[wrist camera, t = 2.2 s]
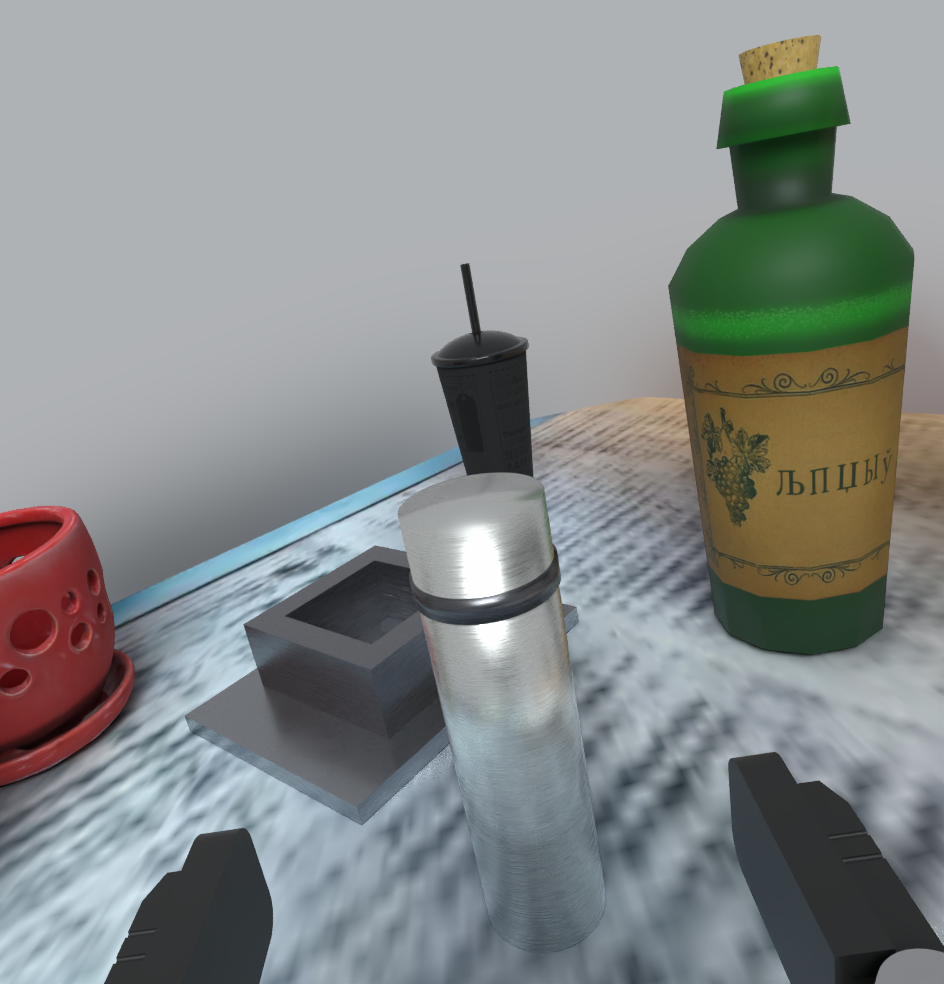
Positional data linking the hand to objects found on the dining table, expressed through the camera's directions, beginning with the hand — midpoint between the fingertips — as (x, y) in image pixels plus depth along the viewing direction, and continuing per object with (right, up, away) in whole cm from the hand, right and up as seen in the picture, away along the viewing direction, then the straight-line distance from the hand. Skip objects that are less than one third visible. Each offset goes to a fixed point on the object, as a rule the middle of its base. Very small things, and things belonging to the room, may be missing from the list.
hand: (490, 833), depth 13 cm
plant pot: (-26, -9, +32) cm, 42 cm away
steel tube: (+2, -9, +16) cm, 18 cm away
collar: (-5, -5, +31) cm, 32 cm away
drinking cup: (+3, +4, +52) cm, 52 cm away
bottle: (+18, -1, +30) cm, 35 cm away
